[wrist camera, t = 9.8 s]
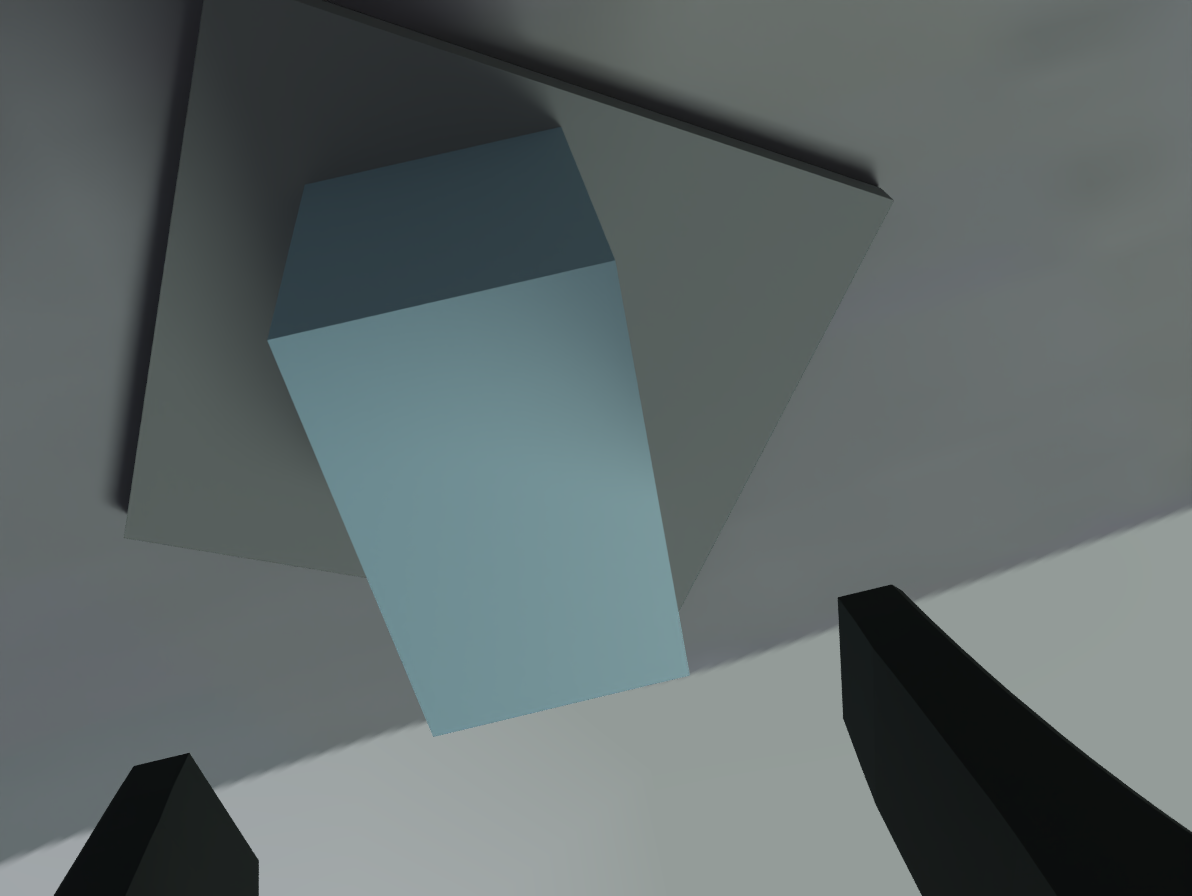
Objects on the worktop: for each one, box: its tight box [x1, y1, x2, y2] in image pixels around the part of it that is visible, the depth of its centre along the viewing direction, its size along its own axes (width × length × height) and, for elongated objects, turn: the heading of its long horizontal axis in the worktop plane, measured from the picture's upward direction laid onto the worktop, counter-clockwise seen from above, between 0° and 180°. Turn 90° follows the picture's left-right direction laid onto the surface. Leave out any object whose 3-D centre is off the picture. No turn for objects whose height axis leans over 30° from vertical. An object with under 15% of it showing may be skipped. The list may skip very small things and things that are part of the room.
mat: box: [124, 0, 894, 612], centre depth 18 cm, size 11×10×1 cm
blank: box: [267, 127, 690, 737], centre depth 15 cm, size 4×7×5 cm, turn 10°
